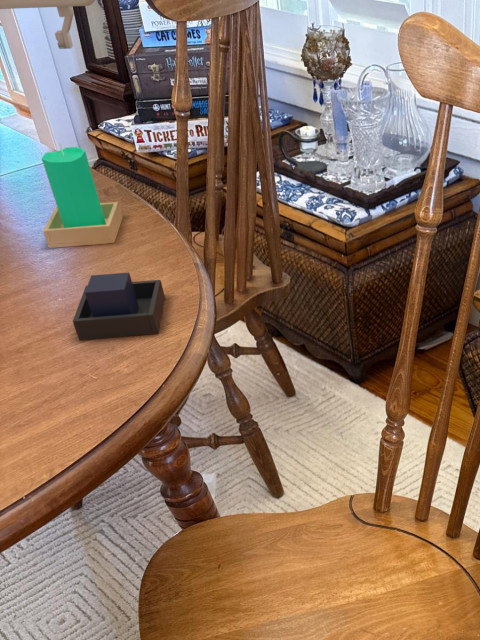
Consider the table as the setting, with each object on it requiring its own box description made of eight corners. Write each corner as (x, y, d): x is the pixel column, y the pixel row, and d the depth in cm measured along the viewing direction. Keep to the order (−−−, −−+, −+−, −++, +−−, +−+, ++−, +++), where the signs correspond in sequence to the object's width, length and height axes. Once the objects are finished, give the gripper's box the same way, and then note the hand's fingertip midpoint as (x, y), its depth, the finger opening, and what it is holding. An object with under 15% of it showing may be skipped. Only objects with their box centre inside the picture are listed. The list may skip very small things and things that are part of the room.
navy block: (96, 327, 93) (84, 292, 90) (102, 309, 96) (91, 275, 93) (134, 324, 94) (124, 289, 90) (138, 306, 97) (129, 272, 94)
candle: (109, 219, 117) (84, 133, 109) (105, 235, 113) (79, 147, 105) (68, 223, 117) (40, 137, 109) (62, 239, 112) (33, 151, 104)
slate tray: (79, 340, 92) (72, 321, 90) (91, 304, 99) (85, 285, 97) (158, 333, 93) (152, 314, 91) (165, 298, 99) (160, 279, 98)
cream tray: (48, 248, 112) (42, 230, 110) (61, 223, 118) (55, 206, 117) (114, 243, 112) (109, 225, 111) (122, 218, 119) (118, 201, 117)
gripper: (84, -93, 94) (114, 40, 104) (-93, -88, 92) (-45, 47, 102) (74, -87, 90) (107, 51, 99) (-112, -82, 88) (-60, 58, 97)
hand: (28, 49), depth 100 cm, fingers open, 8 cm apart
